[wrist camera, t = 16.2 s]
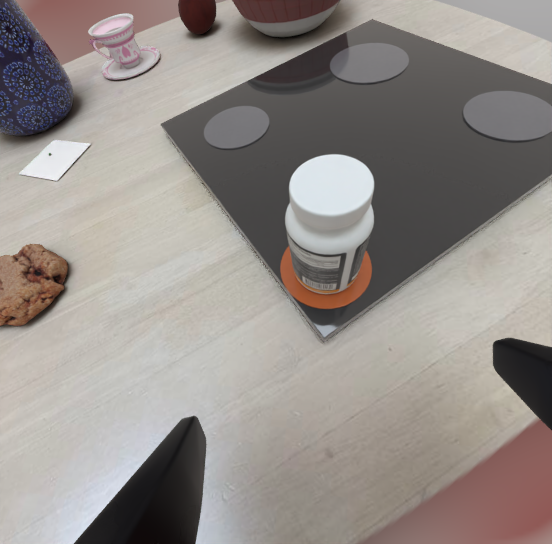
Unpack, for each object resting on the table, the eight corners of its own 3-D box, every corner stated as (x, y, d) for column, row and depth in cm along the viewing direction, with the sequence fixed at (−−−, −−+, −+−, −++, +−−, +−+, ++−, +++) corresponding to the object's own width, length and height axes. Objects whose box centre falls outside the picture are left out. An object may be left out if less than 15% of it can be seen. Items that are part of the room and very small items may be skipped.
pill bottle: (330, 230, 25) (338, 133, 16) (372, 273, 22) (410, 185, 13) (280, 262, 24) (261, 177, 15) (319, 310, 21) (321, 241, 13)
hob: (620, 128, 28) (637, 112, 26) (323, 342, 22) (324, 338, 20) (370, 30, 45) (372, 17, 44) (165, 133, 39) (159, 122, 38)
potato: (226, 19, 56) (215, -28, 50) (214, 38, 52) (201, -11, 46) (195, 22, 58) (180, -24, 52) (181, 41, 54) (164, -6, 48)
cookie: (-24, 282, 30) (-56, 270, 27) (64, 236, 32) (41, 220, 29) (-24, 357, 25) (-63, 350, 23) (79, 298, 27) (54, 286, 24)
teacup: (144, 44, 56) (126, 5, 50) (171, 59, 51) (154, 17, 45) (94, 69, 53) (69, 31, 48) (117, 88, 48) (92, 47, 43)
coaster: (56, 180, 37) (52, 176, 36) (18, 174, 39) (13, 169, 38) (90, 143, 40) (87, 139, 39) (53, 139, 42) (49, 135, 42)
